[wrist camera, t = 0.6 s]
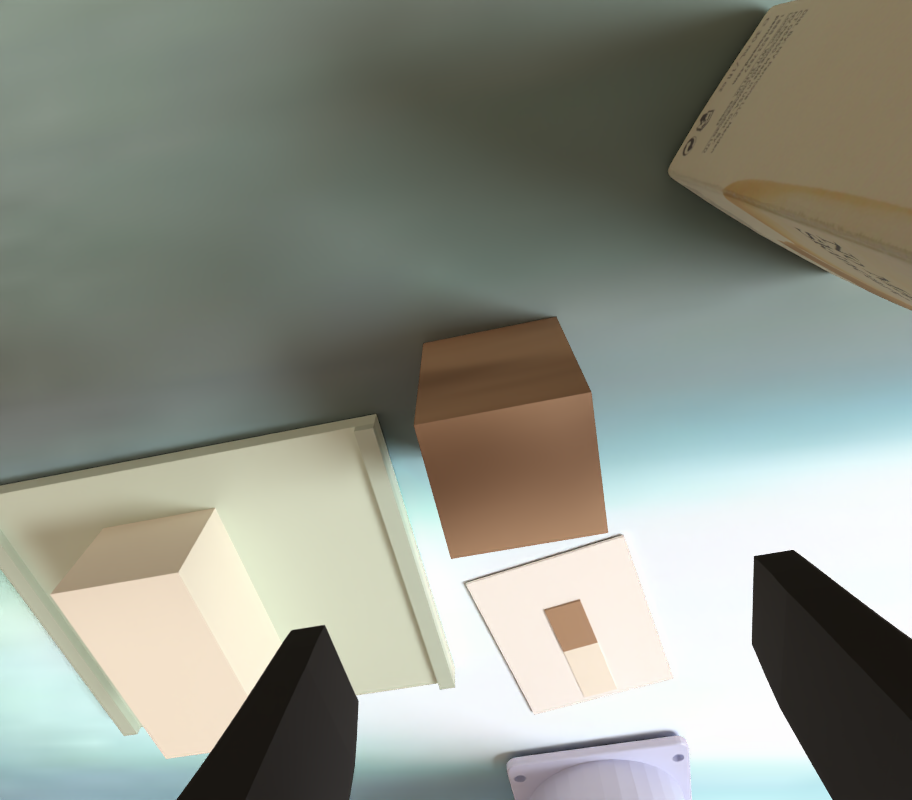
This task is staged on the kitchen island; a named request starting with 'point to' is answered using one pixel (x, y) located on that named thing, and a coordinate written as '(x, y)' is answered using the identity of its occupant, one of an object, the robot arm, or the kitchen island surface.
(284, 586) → the plate
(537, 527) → the walnut brick
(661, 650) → the page
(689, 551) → the kitchen island surface
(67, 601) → the base brick
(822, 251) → the skincare box
